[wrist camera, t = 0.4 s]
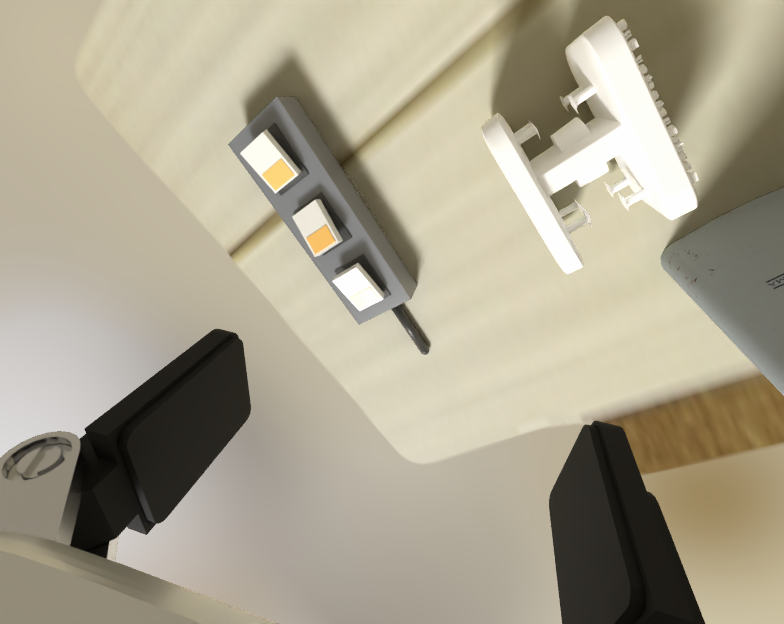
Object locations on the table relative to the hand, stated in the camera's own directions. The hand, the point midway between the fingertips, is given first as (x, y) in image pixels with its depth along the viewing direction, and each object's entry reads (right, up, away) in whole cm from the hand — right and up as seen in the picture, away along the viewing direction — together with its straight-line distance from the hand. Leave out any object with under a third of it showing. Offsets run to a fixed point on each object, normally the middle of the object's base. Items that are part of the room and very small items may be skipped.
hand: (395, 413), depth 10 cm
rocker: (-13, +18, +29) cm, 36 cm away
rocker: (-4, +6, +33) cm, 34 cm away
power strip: (-4, +11, +37) cm, 39 cm away
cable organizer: (+17, +19, +26) cm, 37 cm away
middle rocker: (-8, +12, +31) cm, 34 cm away
